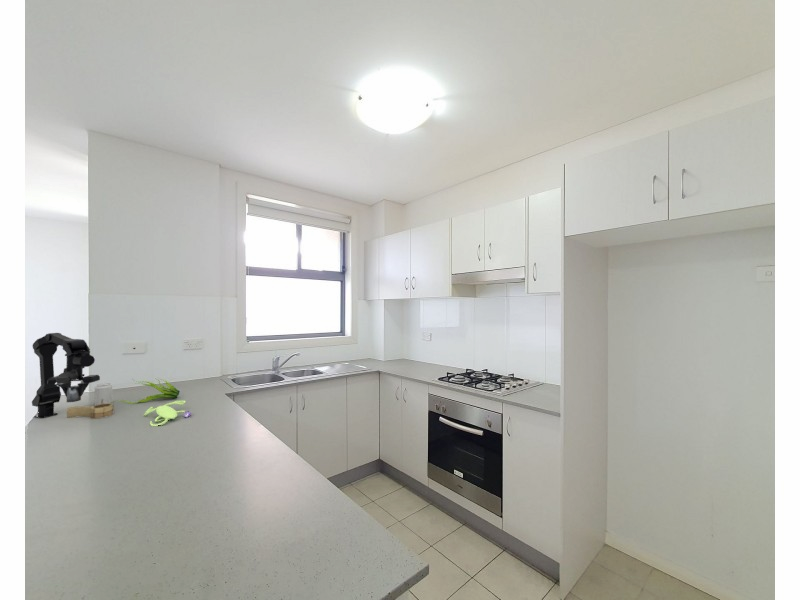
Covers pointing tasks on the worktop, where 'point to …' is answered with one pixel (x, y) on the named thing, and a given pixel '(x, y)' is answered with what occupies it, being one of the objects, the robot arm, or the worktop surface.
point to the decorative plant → (167, 394)
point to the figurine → (167, 412)
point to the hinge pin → (73, 394)
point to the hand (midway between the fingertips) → (73, 396)
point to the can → (103, 393)
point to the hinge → (92, 410)
